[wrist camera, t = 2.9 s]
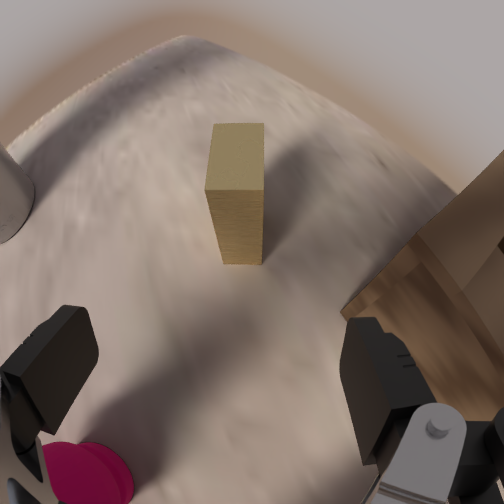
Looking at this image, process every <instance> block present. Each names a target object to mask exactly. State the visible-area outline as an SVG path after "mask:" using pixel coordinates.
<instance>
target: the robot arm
mask: <svg viewBox="0 0 504 504" xmlns="http://www.w3.org/2000/svg"><path fill="white" fill-rule="evenodd" d="M34 193H35V190H34V185H33V183H32V181H31V180H30V179H29V178H28V176H27V175H26V174H25V173H24V172H23V170H22V169H21V168H20V167H19V166H18V164H17V163H16V162H15V161H14V159H13V158H12V157H11V156H10V154H9V153H8V152H7V151H6V149H5V148H4V147H3V145H2V144H1V143H0V244H1V243H3V242H5V241H7V240H8V239H10V238H11V237H12V236H13V235H14V234H15V233H16V232H17V231H18V230H19V228H20V227H21V226H22V224H23V223H24V221H25V220H26V218H27V216H28V214H29V212H30V210H31V207H32V204H33V200H34ZM98 356H99V349H98V345H97V341H96V338H95V335H94V331H93V328H92V325H91V321H90V317H89V314H88V311H87V310H86V308H84V307H80V306H71V305H63V306H61V307H60V308H59V309H58V310H57V311H56V312H55V313H54V314H53V315H52V316H51V317H50V318H49V319H48V320H47V321H45V322H43V323H42V324H40V325H38V327H37V328H36V329H35V330H34V331H33V332H32V333H31V334H30V337H29V336H28V337H27V338H26V339H25V340H24V341H23V344H21V345H20V346H19V347H18V348H17V349H16V350H15V351H14V352H13V353H12V355H11V356H10V357H9V358H8V359H7V360H6V361H5V363H4V364H3V365H2V366H1V367H0V504H67V503H65V502H62V501H60V500H58V499H57V498H56V496H55V494H54V492H53V490H52V487H51V484H50V480H49V476H48V472H47V468H46V463H45V459H44V454H43V449H42V444H41V440H40V438H39V437H38V436H37V435H38V434H39V432H40V430H41V431H44V432H46V433H49V434H52V435H55V434H56V432H57V430H58V428H59V427H60V425H61V423H62V421H63V419H64V418H65V416H66V414H67V412H68V411H69V409H70V407H71V405H72V404H73V402H74V400H75V399H76V397H77V395H78V394H79V392H80V390H81V389H82V387H83V385H84V384H85V382H86V380H87V379H88V377H89V375H90V374H91V372H92V370H93V369H94V367H95V366H96V364H97V361H98ZM340 378H341V382H342V386H343V389H344V393H345V396H346V400H347V404H348V408H349V411H350V415H351V419H352V423H353V427H354V431H355V435H356V439H357V443H358V447H359V451H360V455H361V459H362V463H363V466H365V465H371V464H377V466H378V470H379V473H378V475H377V476H376V478H375V480H374V481H373V483H372V485H371V487H370V488H369V490H368V492H367V493H366V495H365V496H364V498H363V500H362V501H361V503H360V504H446V500H447V497H448V500H449V504H504V502H503V499H502V496H501V493H500V491H499V488H498V485H497V483H496V482H497V481H498V480H499V479H500V480H501V482H502V485H503V488H504V407H503V408H501V409H500V410H499V411H498V412H497V414H496V415H495V417H494V418H493V420H492V421H465V420H464V418H463V416H462V415H461V414H460V413H459V412H458V411H457V410H456V409H454V408H453V407H451V406H449V405H446V404H442V403H437V401H436V399H435V397H434V395H433V393H432V391H431V389H430V388H429V386H428V384H427V382H426V380H425V378H424V377H423V375H422V373H421V371H420V370H419V368H418V367H416V362H415V361H414V359H413V357H411V354H410V352H409V350H408V349H407V347H406V345H405V343H404V342H403V341H402V340H400V339H399V338H398V337H397V336H395V335H394V334H393V333H392V332H390V333H385V332H384V331H383V329H382V327H381V325H380V323H379V322H378V320H377V318H376V317H351V318H349V320H348V323H347V328H346V333H345V338H344V343H343V348H342V353H341V358H340Z"/></svg>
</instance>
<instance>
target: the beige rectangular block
mask: <svg viewBox="0 0 504 504" xmlns="http://www.w3.org/2000/svg"><path fill="white" fill-rule="evenodd" d="M205 194H206V198H207V202H208V206H209V210H210V214H211V217H212V221H213V225H214V229H215V233H216V237H217V241H218V245H219V249H220V252H221V256H222V260H223V264H247V265H262V241H263V206H264V123H228V124H214V126H213V133H212V140H211V146H210V153H209V161H208V168H207V175H206V183H205Z"/></svg>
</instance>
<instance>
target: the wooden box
mask: <svg viewBox="0 0 504 504" xmlns="http://www.w3.org/2000/svg"><path fill="white" fill-rule="evenodd" d="M340 313H341V314H342V316H343V317H344V318H345V320H346V321H347V322H348V320H349V318H351V317H376V318H377V320H378V322H379V323H380V325H381V327H382V329H383V331H384V332H385V333H390V332H392V333H393V334H394V335H395V336H397V337H398V338H399V339H400V340H402V341H403V342H404V343H405V345H406V347H407V349H408V350H409V352H410V354H411V357H413V359H414V361H415V362H416V367H418V368H419V370H420V371H421V373H422V375H423V377H424V378H425V380H426V382H427V384H428V386H429V388H430V389H431V391H432V393H433V395H434V397H435V399H436V401H437V403H442V404H446V405H449V406H451V407H453V408H454V409H456V410H457V411H458V412H459V413H460V414H461V415H462V416H463V418H464V420H465V421H492V420H493V418H494V417H495V415H496V414H497V412H498V411H499V410H500V409H501V408H503V407H504V150H503V151H502V152H501V153H500V154H499V156H497V157H496V158H495V159H494V160H493V161H492V162H491V164H490V165H489V166H488V167H487V168H486V169H485V170H484V171H483V172H482V173H481V174H480V175H479V176H477V177H476V178H475V180H474V181H472V182H471V183H470V184H469V185H468V186H467V187H466V188H465V189H464V190H463V191H462V192H461V193H460V194H459V195H458V196H457V197H456V198H454V199H453V200H452V201H451V202H450V203H449V204H448V205H447V206H446V207H445V208H444V209H443V210H441V211H440V212H439V213H438V214H437V215H436V216H435V217H434V218H433V219H431V220H430V221H429V222H428V223H427V224H426V225H425V226H423V227H422V228H421V229H420V230H419V231H418V232H417V233H416V234H415V235H414V236H413V237H412V238H411V239H410V240H409V242H408V243H407V244H406V245H405V246H404V247H403V248H402V249H401V250H400V251H399V253H398V254H397V255H396V256H395V257H394V258H393V259H392V260H391V261H390V262H389V263H388V264H387V265H386V266H385V268H384V269H383V270H382V271H381V272H380V273H379V274H378V275H377V276H376V277H375V278H374V279H373V280H372V281H371V282H370V283H369V284H368V285H367V286H366V287H365V288H364V289H363V290H362V291H361V292H360V293H359V294H358V295H357V296H356V297H355V298H354V299H353V300H352V301H351V302H350V303H349V304H348V305H347V306H346V307H345V308H344V309H343V310H342V311H341V312H340Z"/></svg>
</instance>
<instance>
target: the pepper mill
mask: <svg viewBox="0 0 504 504" xmlns="http://www.w3.org/2000/svg"><path fill="white" fill-rule="evenodd" d="M42 449H43V454H44V459H45V463H46V468H47V472H48V476H49V480H50V484H51V487H52V490H53V492H54V494H55V496H56V498H57V499H58V500H60V501H62V502H65V503H67V504H128V503H129V502H130V500H131V498H132V496H133V492H134V483H133V479H132V475H131V473H130V471H129V469H128V467H127V466H126V464H125V463H124V461H123V460H122V459H121V458H120V457H119V456H118V455H117V454H116V453H115V452H113V451H112V450H111V449H109V448H107V447H105V446H103V445H101V444H97V443H91V442H86V443H81V444H77V445H76V444H72V443H69V442H53V443H50V444H46V445H43V446H42Z"/></svg>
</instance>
